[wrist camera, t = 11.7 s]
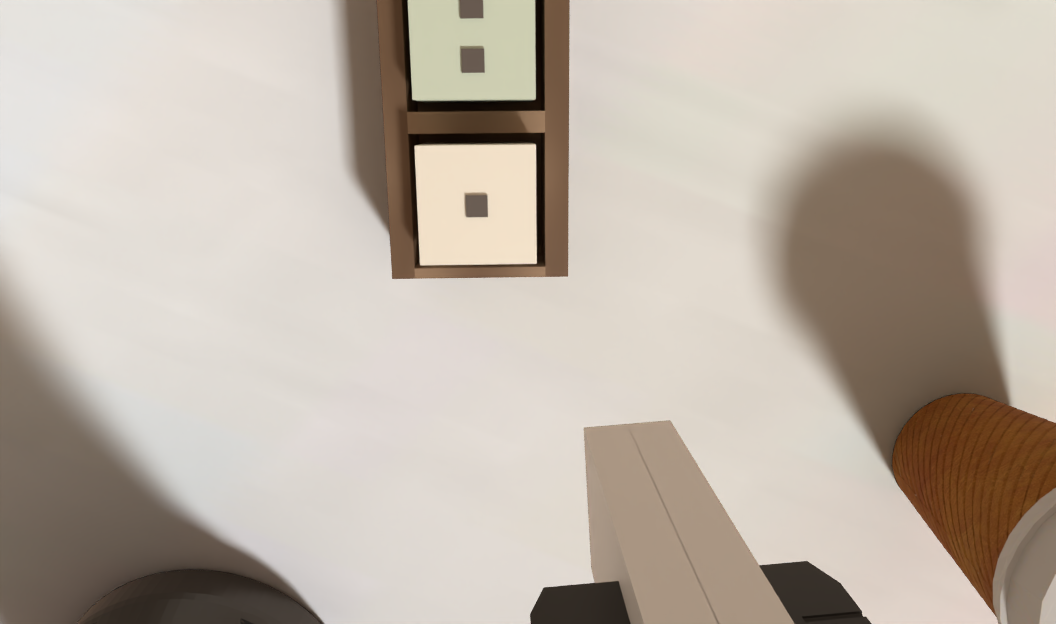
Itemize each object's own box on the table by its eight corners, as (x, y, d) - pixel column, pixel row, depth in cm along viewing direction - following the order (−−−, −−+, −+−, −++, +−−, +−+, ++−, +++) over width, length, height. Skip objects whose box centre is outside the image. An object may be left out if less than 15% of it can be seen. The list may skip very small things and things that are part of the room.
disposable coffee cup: (822, 439, 36) (972, 591, 24) (993, 322, 35) (1238, 424, 23) (920, 571, 38) (1101, 771, 26) (1084, 466, 37) (1352, 627, 25)
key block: (405, 260, 33) (392, 278, 29) (382, -196, 29) (362, -246, 25) (560, 258, 33) (567, 276, 29) (562, -196, 29) (570, -246, 25)
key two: (426, 102, 30) (411, 99, 26) (421, -12, 29) (405, -35, 25) (531, 101, 31) (535, 98, 26) (531, -12, 29) (535, -36, 25)
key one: (431, 245, 32) (419, 265, 28) (427, 142, 31) (414, 145, 26) (532, 244, 32) (536, 264, 28) (532, 141, 31) (536, 144, 27)
